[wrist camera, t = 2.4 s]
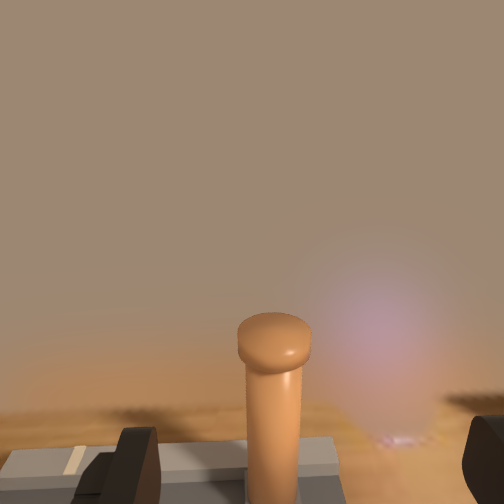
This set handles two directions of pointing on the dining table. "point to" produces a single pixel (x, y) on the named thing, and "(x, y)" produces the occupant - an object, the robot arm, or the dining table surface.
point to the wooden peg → (273, 404)
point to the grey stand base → (170, 473)
